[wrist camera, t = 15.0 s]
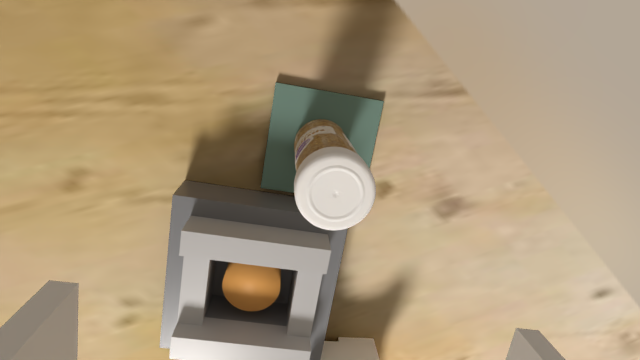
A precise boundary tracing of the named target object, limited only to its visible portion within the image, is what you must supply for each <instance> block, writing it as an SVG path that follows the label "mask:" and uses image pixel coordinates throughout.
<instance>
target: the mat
mask: <svg viewBox="0 0 640 360" xmlns="http://www.w3.org/2000/svg"><path fill="white" fill-rule="evenodd" d="M383 103H384V101H381V100H375V99H369V98H364V97H358V96H352V95H347V94H341V93H335V92H329V91H324V90H318V89H312V88H307V87H301V86H295V85H289V84H284V83H278V82H276V85H275V92H274V99H273V106H272V113H271V120H270V127H269V133H268V140H267V147H266V154H265V161H264V168H263V175H262V182H261V188H265V189H271V190H278V191H285V192H292V193H294V179H295V175H296V167H295V151H294V141H295V137H296V134H297V133H298V131H299V130H300V129H301V128H302V127H303V126H304V125H305V124H307V123H308V122H310V121H313V120H318V119H321V120H322V119H325V120H329V121H332V122H334V123H336V124H337V125H338V126H339V127H340V128H341V129H342V131H343V132H344V134H345V136H346V137H347V138H348V140H349V141H350V143H351V144H352V146H353V147H354V149H355V150H356V152H357V154H358V155H359V156H360V157H361V158H362V159H363V160H364V161H365V163H366V164H367V166H368V167H369V168H370V163H371V159H372V154H373V149H374V145H375V140H376V135H377V131H378V126H379V121H380V117H381V112H382V107H383Z"/></svg>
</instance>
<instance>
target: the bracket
mask: <svg viewBox="0 0 640 360" xmlns="http://www.w3.org/2000/svg"><path fill="white" fill-rule="evenodd" d="M320 360H380V359H379V356H378V352H377V349H376V345H375V342H374V338H352V337H338V341H324V345H323V350H322V354H321V359H320Z"/></svg>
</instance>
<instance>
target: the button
mask: <svg viewBox="0 0 640 360" xmlns="http://www.w3.org/2000/svg"><path fill="white" fill-rule="evenodd" d="M280 285H281V269H280V268H272V267H264V266H256V265H248V264H241V263H233V262H228V265H227V268H226V272H225V275H224V278H223V282H222V288H223V293H224V295H225V297H226V299H227V300H228V301H229V302H230V303H231V304H232V305H233V306H234V307H236V308H238V309H241V310H244V311H259V310H263V309H265V308H267V307H269V306H270V305H271V304H272V303H273V302H274V301H275V300H276V299H277V297H278V295H279V292H280Z"/></svg>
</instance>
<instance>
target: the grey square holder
mask: <svg viewBox="0 0 640 360" xmlns="http://www.w3.org/2000/svg"><path fill="white" fill-rule="evenodd" d="M347 229H348V228H347ZM347 229H343V230H325V229H321V228H319V227H316V226H314V225H313V224H311V223H310V222H309V221H307V220H306V219H305V218H304V217H303V215H302V214H301V213H300V211H299V209H298V207H297V205H296V201H295V196H290V195H283V194H276V193H269V192H262V191H255V190H249V189H242V188H235V187H228V186H221V185H214V184H208V183H201V182H194V181H187V180H185V181H184V182H183V183H182V185H181V186H180V187H179V188H178V189H177V190H176V192H175V193H174V194H173V199H172V210H171V222H170V233H169V245H168V256H167V268H166V279H165V291H164V302H163V314H162V326H161V337H160V348H169V349H170V356H169V359H179V360H320V359H321V354H322V350H323V345H324V340H325V335H326V330H327V326H328V321H329V316H330V311H331V306H332V301H333V297H334V292H335V287H336V282H337V277H338V273H339V268H340V263H341V258H342V253H343V249H344V244H345V239H346V234H347ZM228 262H233V263H241V264H248V265H256V266H264V267H272V268H280V269H281V285H280V292H279V295H278V297H277V299H276V300H275V301H274V302H273V303H272V304H271V305H270V306H269V307H267V308H265V309H263V310H259V311H244V310H241V309H238V308H236V307H234V306H233V305H232V304H231V303H230V302H229V301H228V300H227V299H226V297H225V295H224V293H223V288H222V282H223V278H224V275H225V272H226V268H227V265H228Z"/></svg>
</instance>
